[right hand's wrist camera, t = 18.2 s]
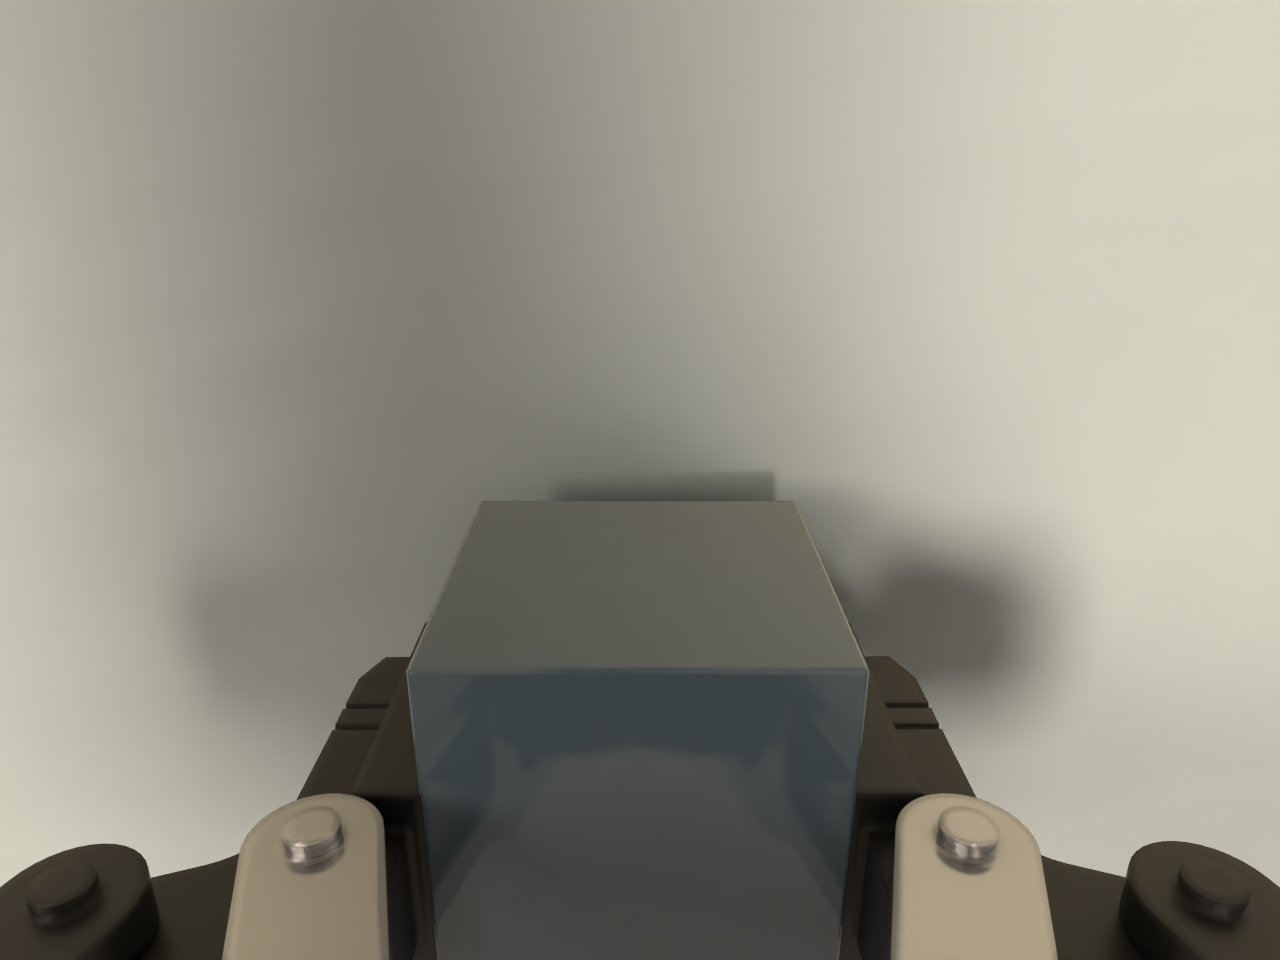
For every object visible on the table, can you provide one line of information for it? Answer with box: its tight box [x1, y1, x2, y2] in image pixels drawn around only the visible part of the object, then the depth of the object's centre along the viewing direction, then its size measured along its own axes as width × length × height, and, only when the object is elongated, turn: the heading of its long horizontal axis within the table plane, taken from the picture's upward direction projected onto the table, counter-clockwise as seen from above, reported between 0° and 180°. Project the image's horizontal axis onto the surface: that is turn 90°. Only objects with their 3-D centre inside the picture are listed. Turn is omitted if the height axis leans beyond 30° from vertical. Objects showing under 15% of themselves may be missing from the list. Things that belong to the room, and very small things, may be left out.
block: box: [406, 501, 869, 960], centre depth 11 cm, size 4×5×4 cm
